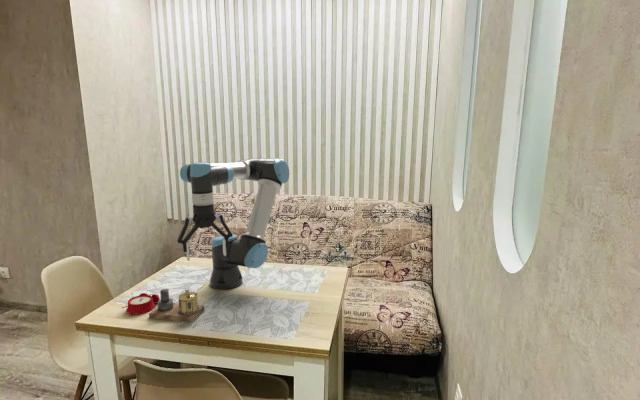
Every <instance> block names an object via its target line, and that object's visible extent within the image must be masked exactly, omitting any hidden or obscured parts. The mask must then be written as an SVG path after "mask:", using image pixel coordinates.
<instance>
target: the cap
mask: <svg viewBox="0 0 640 400" xmlns="http://www.w3.org/2000/svg"><path fill="white" fill-rule="evenodd" d="M178 303H179V311H180V312H181V313H182V314H189V313H193V312H195V311H197V309H198V305H199V304H198V303H199V302H198V293H197V292H195V291H190V290H189V289H186V290H185V291H184V292H181V293H180V294H179V295H178Z"/></svg>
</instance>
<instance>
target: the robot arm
mask: <svg viewBox="0 0 640 400" xmlns="http://www.w3.org/2000/svg"><path fill="white" fill-rule="evenodd" d="M289 167H290V166H289V164H288V163H287V162H286V160H285V159H281V158H276V157H275V158H263V157H262V158H261V157H260V158H259V157H256V158H249V159H243V160H242V159H240V160H238V161H237V162H220V163H210V162H203V161H202V162H192V163H189V164H187V163H186V164H183V165H182V166H181V167H180V169H179V176H180V179H181V180H182V182H185V183H190V184H191V196H192V197H191V200H192V204H193V205H192V210H193V211H192V213H193V217H188V216H185V218H184V224H183V226H182V228H181V231H180V233H179V235H178V238H177V240H176V241H177V243H178V244H181V245H182V248H183V249H182V251H183V253H186V260H187V262H189V261H191V259H190V258H191V257H190V246H189V240H191V238H192V236H193V235H194V233H196V231H197V230H198V229H199V228H200V229H209V228H211V227H212V228H213V229H214V230H215V231H216V232H218V233H219V234H220V236H219V235H218V236H216V237H214V238H213V239H212V241H211V253H212V254H211V256H212V271H211V275H210V279H209V286H210V287H211V288H213V289H215V290H227V289H233V288H237V287H240V285H242V284H243V281H244V280H243V276H242V272H241V271H240V267H244V268H247V269H258V268H260V267H261V266H263V265H264V264H265V262H266V260H267V257H268V255H269V249H268V248H269V247H268V245H267V244H266V242H267V241H266V238H265V234H266V231H267V227H268V223H269V219H270V217H271V213H272V209H273V206H274V202H275V199H276V194H277V192H278V191H279V190H281V189H282V185H283V184H285V183H287V182H288V181H289V178H290V169H289ZM235 179H236V180H237V179H238V180H241V181H245V180H247V181H253V182H257V183H258V185H259V187H258V191H257V194H256V197H255V201H254V203H253V207H252V210H251V213H250V218H249V220H248V224H247V227H246V229H245V232H244V233H242V234H241V235H240V239H238V235H237V234H234V233H232V232H231V230H230V229H229V227H228V225H227V224H226V222H225V220H224V215H223V214H221V213H220V214H217V215H216V214H215V204H214V191H213V190H214V189H213V187H215V186H221V185H227V184H229V183H231V182H232V181H234V180H235ZM216 220H217V221H220V223H221V225H222V226H223V228H224V230H225V231H226V232H227V233H225V232H224V231H223V230H222V229H221V228H220V227H219V226H218V225H216V223H215V221H216ZM192 222H193V223H194V225H193V226H192V228H191V229H190V230H189V232H188V233H187V234H186V232H187V229H188V228H189V225H190V224H191V223H192ZM185 234H186V236H185Z"/></svg>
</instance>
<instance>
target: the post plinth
mask: <svg viewBox="0 0 640 400" xmlns="http://www.w3.org/2000/svg"><path fill="white" fill-rule="evenodd" d="M159 292H160V299H159V301H158V304H157V306H156V307H154V309H152V310H151V311H149V312H148V319H153V320H155V319H156V320H165V321H175V322H176V321H177V322H185V323H193V322H194V321H195V320H196V319H197V318H198V317H199V316H200V315H201V314H202V313H203V312H204V311H205V309H206V308H205V305H201V304H198V309H197V311H195V312H193V313H189V314H182V313H181V312H180V311H179V302H174V300H173V298H171V297H170V296H169V295H170V293H169V289H168V288H162V289H160V290H159Z"/></svg>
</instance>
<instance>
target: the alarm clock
mask: <svg viewBox="0 0 640 400" xmlns="http://www.w3.org/2000/svg"><path fill="white" fill-rule="evenodd" d="M159 300H160V296H159V295H158V294H155V293H154V294H153V293H151V294H147V293H145V292H142V293H140V294H139V295H136V296H133V297H131V298H130V299H128V300H127V306H124V307H122V308H121V309H124V308H126V313H128V314H129V315H131V316H133V315H139V314H141V315H142V314H145V313H150V312H151V311H153V310H154V309H155V308H156V305H158V301H159ZM155 303H156V304H155Z"/></svg>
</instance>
